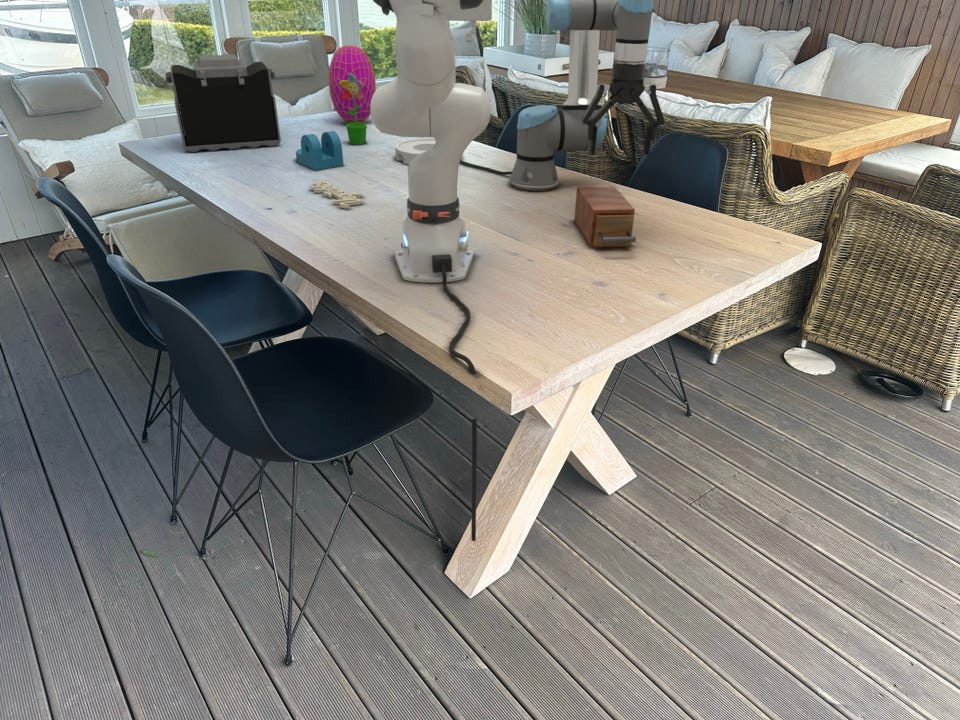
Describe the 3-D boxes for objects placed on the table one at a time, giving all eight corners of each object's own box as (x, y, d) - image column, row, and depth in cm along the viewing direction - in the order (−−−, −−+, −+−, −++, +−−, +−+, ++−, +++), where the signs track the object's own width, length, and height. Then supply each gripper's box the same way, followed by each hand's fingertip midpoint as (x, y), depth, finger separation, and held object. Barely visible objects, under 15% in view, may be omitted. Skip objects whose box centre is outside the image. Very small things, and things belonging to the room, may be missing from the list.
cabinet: (630, 246, 171) (634, 209, 166) (589, 247, 170) (593, 210, 166) (610, 220, 188) (614, 186, 183) (573, 221, 187) (576, 186, 182)
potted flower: (342, 144, 260) (336, 73, 247) (351, 139, 266) (346, 70, 254) (365, 146, 257) (360, 74, 245) (374, 141, 264) (369, 71, 251)
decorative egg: (362, 116, 305) (357, 42, 290) (386, 123, 292) (382, 46, 277) (324, 121, 294) (316, 45, 279) (347, 129, 281) (340, 49, 266)
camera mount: (343, 165, 234) (340, 133, 228) (315, 170, 228) (311, 137, 223) (318, 154, 246) (315, 124, 240) (291, 159, 240) (287, 128, 235)
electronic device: (278, 133, 274) (267, 51, 259) (285, 146, 256) (274, 59, 241) (180, 140, 262) (162, 54, 247) (180, 153, 244) (161, 62, 229)
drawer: (636, 253, 165) (640, 223, 161) (599, 254, 164) (602, 223, 160) (611, 221, 185) (615, 193, 181) (578, 221, 184) (581, 194, 180)
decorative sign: (374, 199, 198) (343, 206, 193) (375, 203, 198) (344, 209, 193) (332, 179, 216) (303, 184, 211) (332, 182, 216) (303, 187, 211)
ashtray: (454, 167, 232) (454, 155, 230) (388, 164, 235) (387, 152, 233) (466, 151, 252) (466, 140, 250) (404, 148, 255) (404, 137, 253)
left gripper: (402, -25, 156) (405, 42, 162) (492, -24, 157) (491, 43, 163) (403, -25, 161) (406, 40, 168) (490, -24, 162) (489, 40, 169)
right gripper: (677, 60, 166) (664, 149, 177) (574, 59, 165) (568, 149, 176) (686, 64, 159) (672, 157, 170) (579, 63, 159) (572, 156, 170)
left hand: (449, 41), depth 166 cm, fingers open, 8 cm apart
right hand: (619, 153), depth 173 cm, fingers open, 13 cm apart
